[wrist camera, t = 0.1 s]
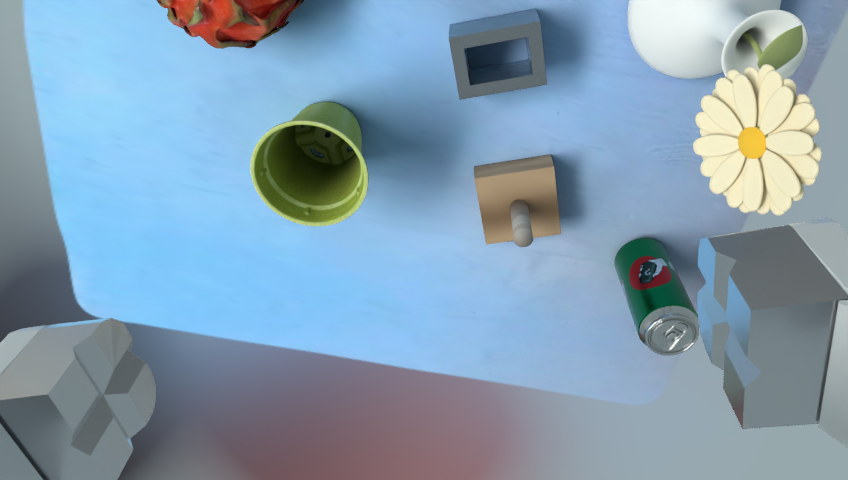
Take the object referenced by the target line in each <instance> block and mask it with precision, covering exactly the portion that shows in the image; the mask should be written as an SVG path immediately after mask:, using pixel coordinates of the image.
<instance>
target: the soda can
mask: <svg viewBox="0 0 848 480" xmlns="http://www.w3.org/2000/svg"><path fill="white" fill-rule="evenodd" d="M615 268H616V271H617V274H618V277H619V280H620V283H621V286H622V289H623V291H624V294H625V297H626V300H627V303H628V306H629V309H630V312H631V315H632V318H633V320H634V323H635V326H636V329H637V332H638V335H639V337H640V339H641V341H642V342H643V343H644V344H645V345H647V346H648V347H649V348H650V349H651V350H652V351H653V352H655V353H657V354H661V355H676V354H680V353H682V352H685V351H686V350H688V349H690V348H691V347H692V346H693V345H694V344H695V342H696V341H697V338H698V335H699V320H698V315H697V313H696V311H695V309H694V307H693V305H692V303H691V301H690V299H689V297H688V294H687V292H686V290H685V288H684V286H683V284H682V282H681V280H680V278H679V276H678V274H677V271H676V269H675V267H674V265H673V263H672V261H671V259H670V257H669V255H668V253H667V251H666V249H665V247H664V246H663V245H662V244H661V243H660V242H658V241H656V240H653V239H648V238H641V239H636V240H633V241H630V242H628V243H627V244H625V245H624V246H623V247H622V248H621V249H620V250H619V251H618V253H617V255H616V257H615Z"/></svg>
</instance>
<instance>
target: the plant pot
mask: <svg viewBox="0 0 848 480" xmlns="http://www.w3.org/2000/svg"><path fill="white" fill-rule="evenodd" d="M301 125H305V126H304V127H302V126H301ZM326 132H329V133H330V137H326V136H325V134H326ZM349 146H351V147H352V148H353V149H352V150H351V151H349V152H348V151H347V149H348V148H349ZM311 149H314V150H315V151H317V152H318V153H320V154H323V155H324V157H318V156H316V155H315V154H313V153H312V152H311ZM251 176H252V180H253V184H254V186H255V189H256V191H257V192H258V194H259V196H260V197H261V199H262V200H263V201H264V202H265V204H266V205H267V206H268V207H269V208H271V209H272V210H273V211H274V212H276V213H277V214H278V215H280V216H282V217H284V218H286V219H288V220H290V221H292V222H295V223H298V224H302V225H308V226H326V225H332V224H335V223H338V222H341V221H343V220H345V219H347V218H348V217H350V216H351V215H352V214H354V213H355V212H356V211H357V209H358V208H359V207H360V205H361V204H362V202H363V200H364V199H365V196H366V193H367V189H368V179H369V178H368V169H367V165H366V162H365V159H364V157H363V155H362V133H361V129H360V126H359V123H358V121H357V119H356V118H355V116H354V115H353V114H352V113H351V112H350V111H349V110H348V109H346V108H345V107H343V106H341V105H339V104H336V103H333V102H320V103H315V104H311V105H309V106H307V107H306V108H305V109H303V110H302V111H301V112H300V113H299V114H298V115H297V116H296V117H295V118H293V119H292V120H291V121H289V122H284V123H282V124H279V125H277V126H275V127H273V128H272V129H270V130H269V131H268V132H267V133H266V134H264V135H263V137H262V138H261V139H260V140H259V142H258V143H257V145H256V147H255V149H254V151H253V154H252V158H251Z"/></svg>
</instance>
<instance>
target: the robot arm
mask: <svg viewBox="0 0 848 480" xmlns="http://www.w3.org/2000/svg"><path fill="white" fill-rule="evenodd" d="M698 267H699V269H700V271H701V273H702V275H703V277H704V279H705V281H706V283H705V285H704V286H703V287H702V288H701V289H700V291H699V292H698V293H697V313H698V320H699V327H700V333H701V337H702V340H703V343H704V346H705V349H706V352H707V354H708V356H709V358H710V360H711V363H712V364H714V365H716V366H717V367H719V368H721V369H722V370H724V383H723V389H724V391H725V393H726V395H727V397H728V399H729V401H730V403H731V406H732V408H733V410H734V412H735V414H736V416H737V418H738V421H739V423H740V424H741V427H742V429H747V428H762V427H776V426H790V425H805V424H819V426H818V427H819V428H821V429H822V430H823V431H825V432H826V433H828V434H829V435H830V436H832V437H833V438H835V439H836V440H837V441H839V442H840V443H841V444H843V445H844V446H846V447H847V448H848V233H847V232H846V231H845V230H844V229H843V228H842V227H841V226H840V225H839V224H838V223H837V222H836V221H834V220H832V219H829V218H824V219H817V220H811V221H806V222H799V223H793V224H788V225H784V226H779V227H773V228H766V229H760V230H753V231H747V232H740V233H734V234H727V235H721V236H714V237H708V238H701V240H700V244H699V248H698ZM132 342H133V338H132V337H131V335H130V333H129V332H128V330H127V329H126V327H125V326H124V324H123V322H121V321H118V320H115V319H112V318H106V319H98V320H89V321H80V322H71V323H63V324H54V325H50V326H38V327H31V328H24V329H20V330H17V331H14V332H11V333H9V334H8V335H7V336H6V337H5V339H4V340H3V341H2V342H1V343H0V480H117V479H118V477H119V475H120V473H121V471H122V470H123V468H124V466H125V464H126V462H127V460H128V458H129V457H130V455H131V453H132V451H133V447H132V444H131V440H130V438H131V437H132V436H133V435H135V434H136V433H137V432H138V431H139V430H141V429H142V428H143V427H144V426H146V424H147V422H148V420H149V418H150V416H151V414H152V412H153V410H154V405H155V397H156V386H155V382H154V378H153V374H152V372H151V371H150V369H149V367H148V365H147V363H146V362H145V361H143V360H142V359H140V358H139V357H137V356H136V355H134V354H133V353H131V352H130V350H131V346H132Z"/></svg>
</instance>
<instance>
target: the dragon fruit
mask: <svg viewBox="0 0 848 480" xmlns="http://www.w3.org/2000/svg"><path fill="white" fill-rule="evenodd" d="M157 1H158V3H159V4H160V6H162V7H164V8H168V14H167V16H168V19H169V20H170V22H171V23H173V24H174V25H177V26H178V27H181V28H183V29H184V30H185V32H186V33H187V34H188V35H190V36H191V37H197V36H200V37H202V38H203V39H204V40H205V41H206V42H207V43H208V44H210V45H211V46H213V47H215V48H226V47H245V48H252V47H254V46H255V45H256V44H257V43H258V42H259V41H261V40H263V39H265V38H267V37H268V36H270V35H272V34H274V33H276V32H278V31H279V29H280V28H283V27H285V26H286V25H287V24H288V23H289V21H287V22H286V23H285V21H286V20H287V18H288V17H289V16H290V14H291V13H292V12H293V11H294V10H295V9H296V8H297V7H299V6H300V5H301V4H302V2H303V1H304V0H157ZM277 27H279V28H277ZM280 30H281V29H280Z"/></svg>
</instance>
